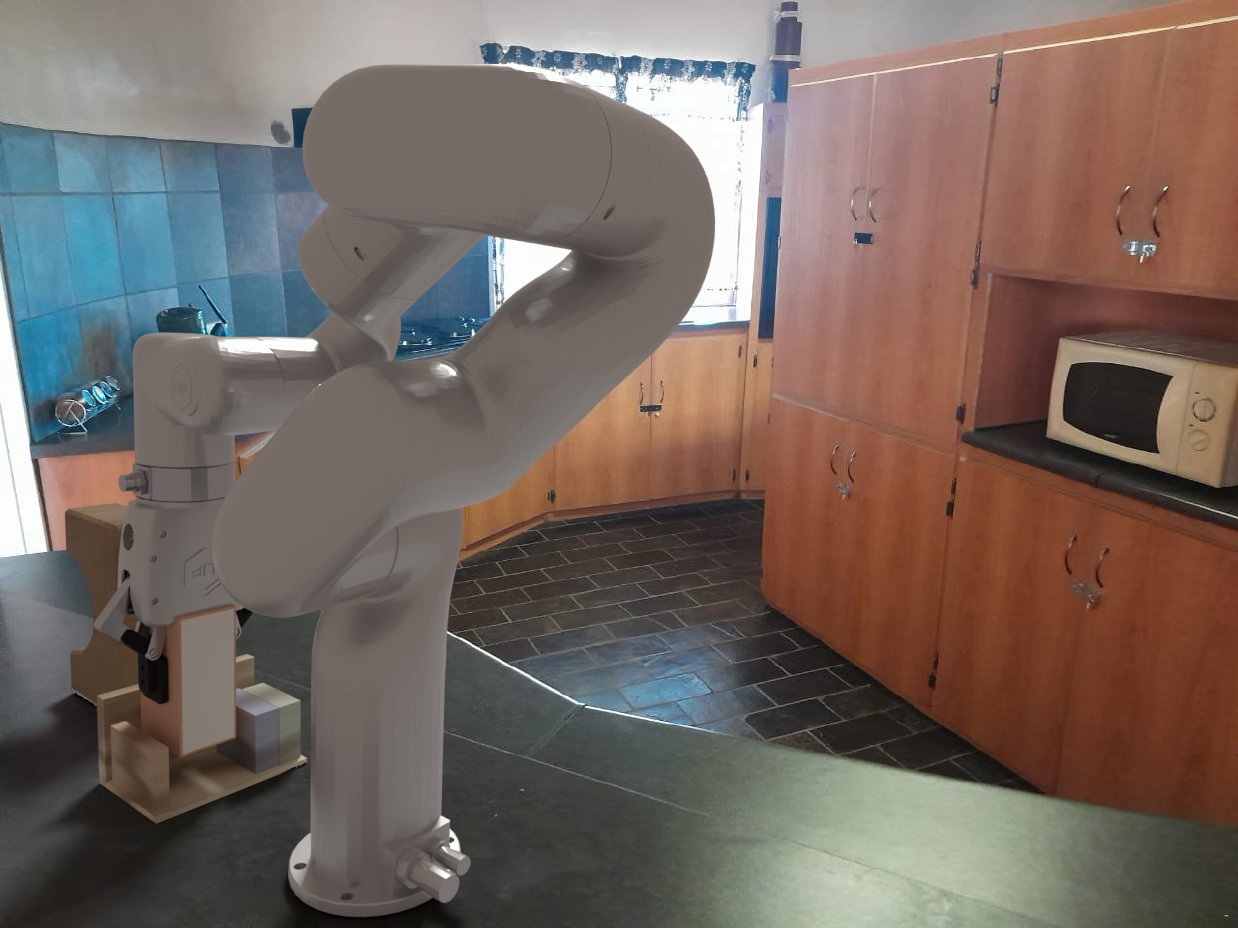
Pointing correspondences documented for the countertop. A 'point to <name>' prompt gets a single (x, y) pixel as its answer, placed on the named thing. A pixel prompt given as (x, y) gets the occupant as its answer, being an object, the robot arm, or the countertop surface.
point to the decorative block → (100, 599)
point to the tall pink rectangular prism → (196, 684)
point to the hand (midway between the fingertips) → (188, 687)
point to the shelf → (206, 775)
